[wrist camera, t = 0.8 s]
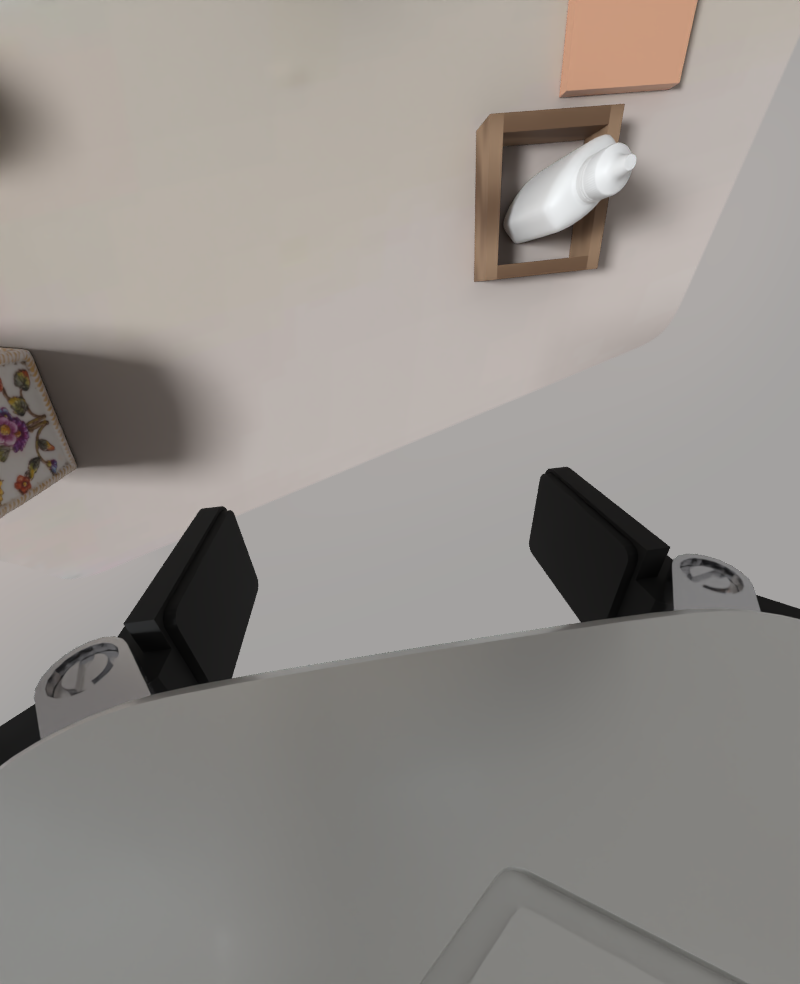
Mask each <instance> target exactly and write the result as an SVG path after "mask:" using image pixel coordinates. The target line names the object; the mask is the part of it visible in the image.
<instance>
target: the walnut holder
mask: <svg viewBox="0 0 800 984" xmlns="http://www.w3.org/2000/svg"><path fill="white" fill-rule="evenodd" d="M624 105H625V104H616V105H602V106H589V107H576V108H562V109H549V110H536V111H522V112H509V113H496V114H490V115H489V116H488V117H487V119H486V120H485V121H484V122H483V124H482V125H481V126H480V127H479V129H478V130H477V131H476V192H475V261H474V282H476V281H487V280H496V279H505V278H514V277H524V276H533V275H542V274H551V273H560V272H569V271H579V270H588V269H597V266H598V260H599V254H600V248H601V242H602V237H603V231H604V225H605V219H606V213H607V207H608V201H609V197H607V198H604V199H602V200H600V201H599V203H598V204H597V205H596V206H595V207H594V208H593V209H592V210H591V211H590V212H589V213H588V214H587V215H585V216H584V217H583V218H582V219H580V220H579V221H577V222H576V223H574V224H573V231H572V238H571V246H570V254H569V258H563V259H553V260H544V261H534V262H525V263H515V264H506V265H498V242H499V219H500V195H501V172H502V149H503V146H515V145H528V144H540V143H552V142H564V141H576V140H584V144H586V143H588V142H589V141H591V140H593V139H595V138H597V137H599V136H602V135H610V136H611V137H613V139H614V140H615V142H616V143H617V142H618V141H619V135H620V129H621V123H622V117H623V111H624Z"/></svg>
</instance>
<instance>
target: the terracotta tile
mask: <svg viewBox="0 0 800 984" xmlns="http://www.w3.org/2000/svg"><path fill="white" fill-rule="evenodd" d="M697 1H698V0H569V4H568V14H567V24H566V34H565V44H564V54H563V65H562V75H561V85H560V95H559V97H572V96H586V95H600V94H614V93H628V92H641V91H655V90H669V89H670V88H672V87H674V86H675V85H677V84H678V83H680V78H681V74H682V69H683V65H684V60H685V55H686V51H687V46H688V42H689V37H690V33H691V28H692V24H693V19H694V14H695V10H696V5H697Z"/></svg>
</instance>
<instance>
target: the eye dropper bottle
mask: <svg viewBox="0 0 800 984" xmlns="http://www.w3.org/2000/svg"><path fill="white" fill-rule="evenodd" d="M635 164H636V156H635V155H634V154H632V153H631V150H630V148H629V147H627V145H625V144H624V143H623V144H622V143H620V142H619V143H618V142H617V143H616V142H615V140H614V139H613V137H611V136H610V135H602V136H599V137H597V138H595V139H593V140H591V141H589V142H588V143H586V144H584V145H582V146H581V147H579V148H578V149H576V150H574V151H573V152H571V153H570V154H568V155H566V156H565V157H563V158H561V159H560V160H558V161H557V162H555V163H553V164H552V165H550V166H549V167H547V168H545V169H544V170H542V171H541V172H539V173H538V174H537V175H535V176H534V177H533V178H532V179H530V180H529V181H528V182H527V183H526V184H525V185H524V186H523V188H522V189H521V190H520V191H519V193H518V194H517V195H516V197H515V198H514V200H513V202H512V203H511V205H510V207H509V209H508V211H507V214H506V216H505V219H504V223H503V226H504V229H505V230H506V232H507V234H508V235H509V236H510V238H511V239H512V241H513V242H514V243H516V244H519V243H523V242H526V241H530V240H533V239H537V238H540V237H544V236H547V235H550V234H553V233H556V232H559V231H561V230H563V229H565V228H568V227H569V226H571V225H573V224H574V223H576V222H577V221H579V220H580V219H582V218H583V217H584V216H585V215H587V214H588V213H589V212H590V211H591V210H592V209H593V208H594V207H595V206H596V205H597V204H598V203H599V201H600V200H602V199H604V198H607V197H610V196H613V195H615V194H616V193H618V192H619V191H620V190H621V189H622V188H623V187H624V186H625V184H626V183H627V182H628V179H629V177H630V174H631V171H632V169H633V168H634V166H635Z"/></svg>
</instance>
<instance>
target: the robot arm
mask: <svg viewBox="0 0 800 984" xmlns="http://www.w3.org/2000/svg"><path fill="white" fill-rule="evenodd" d="M529 547H530V550H531V552H532V554H533V555H534V557H535V558H536V560H537V561H538V563H539V564H540V565H541V567H542V568H543V569H544V571H545V572H546V574H547V575H548V577H549V578H550V579H551V581H552V582H553V584H554V585H555V586H556V588H557V589H558V591H559V592H560V593H561V595H562V596H563V598H564V599H565V600H566V602H567V603H568V605H569V606H570V607H571V609H572V610H573V611H574V613H575V614H576V616H577V617H578V619H579V620H580V621H581V623H576V624H569V625H562V626H555V627H549V628H542V629H536V630H530V631H522V632H516V633H509V634H503V635H496V636H490V637H483V638H477V639H470V640H464V641H458V642H451V643H445V644H439V645H432V646H426V647H420V648H413V649H407V650H401V651H394V652H388V653H382V654H375V655H369V656H364V657H357V658H351V659H345V660H339V661H332V662H326V663H321V664H314V665H308V666H302V667H296V668H290V669H284V670H278V671H272V672H265V673H260V674H254V675H249V676H244V677H238V678H232V676H233V672H234V669H235V665H236V662H237V659H238V655H239V652H240V649H241V645H242V642H243V638H244V635H245V632H246V628H247V625H248V622H249V618H250V615H251V611H252V608H253V604H254V601H255V598H256V595H257V591H258V579H257V576H256V573H255V570H254V568H253V565H252V562H251V560H250V557H249V554H248V551H247V548H246V546H245V543H244V540H243V537H242V534H241V532H240V529H239V526H238V524H237V521H236V518H235V515H234V513H233V512H232V511H231V510H229V511H227V509H226V508H225V507H223V506H221V507H212V508H204V509H201V510H200V511H199V512H198V514H197V515H196V517H195V518H194V520H193V521H192V523H191V524H190V526H189V527H188V529H187V530H186V532H185V533H184V535H183V536H182V538H181V539H180V540H179V542H178V543H177V545H176V546H175V548H174V549H173V551H172V553H171V554H170V556H169V557H168V559H167V560H166V561H165V563H164V564H163V566H162V568H161V569H160V570H159V572H158V573H157V575H156V576H155V578H154V579H153V581H152V582H151V584H150V585H149V587H148V588H147V590H146V591H145V593H144V594H143V596H142V597H141V599H140V600H139V602H138V603H137V605H136V606H135V608H134V609H133V611H132V612H131V614H130V615H129V617H128V618H127V619H126V621H125V622H124V625H125V627H124V628H123V630H122V631H121V633H120V634H119V636H118V637H114V636H113V637H102V638H99V639H96V640H92V641H90V642H87V643H85V644H83V645H81V646H79V647H77V648H75V649H74V650H72V651H70V652H69V653H67V654H66V655H64V656H63V657H62V658H61V659H59V660H58V661H57V662H56V663H54V664H53V665H52V666H51V667H50V668H49V669H48V670H47V672H46V673H45V674H44V675H43V676H42V677H41V679H40V681H39V683H38V685H37V686H36V688H35V695H34V700H35V704H34V705H33V706H31V707H30V708H28V709H27V710H25V711H23V712H22V713H20V714H19V715H17V716H16V717H14V718H12V719H11V720H9V721H8V722H6V723H5V724H3V725H2V726H0V984H800V609H798V608H795V607H792V606H789V605H786V604H783V603H780V602H776V601H773V600H770V599H767V598H764V597H761V596H758V595H756V594H755V591H754V587H753V585H752V583H751V582H750V580H749V579H748V578H747V577H746V576H745V575H744V574H743V573H742V572H741V571H739V570H737V569H736V568H734V567H733V566H731V565H729V564H727V563H725V562H723V561H721V560H718V559H715V558H711V557H708V556H704V555H698V554H684V555H679V556H677V557H676V558H675V559H673V560H672V559H671V558H670V557H669V556H667V553H668V551H669V549H670V547H669V546H668V545H667V544H666V543H664V542H663V541H662V540H661V539H659V538H658V537H657V536H655V535H654V534H653V533H651V532H650V531H649V530H648V529H647V528H645V527H644V526H643V525H641V524H640V523H639V522H638V521H636V520H635V519H634V518H633V517H631V516H630V515H629V514H627V513H626V512H625V511H624V510H622V509H621V508H620V507H619V506H617V505H616V504H615V503H613V502H612V501H611V500H610V499H608V498H607V497H606V496H605V495H603V494H602V493H601V492H599V491H598V490H597V489H596V488H594V487H593V486H592V485H591V484H589V483H588V482H587V481H585V480H584V479H583V478H582V477H580V476H579V475H578V474H577V473H575V472H574V471H573V470H571V469H570V468H568V467H561V468H552V469H548V470H547V471H546V473H545V474H543V475H542V476H541V477H540V482H539V488H538V494H537V499H536V505H535V511H534V517H533V523H532V528H531V534H530V540H529Z"/></svg>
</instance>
